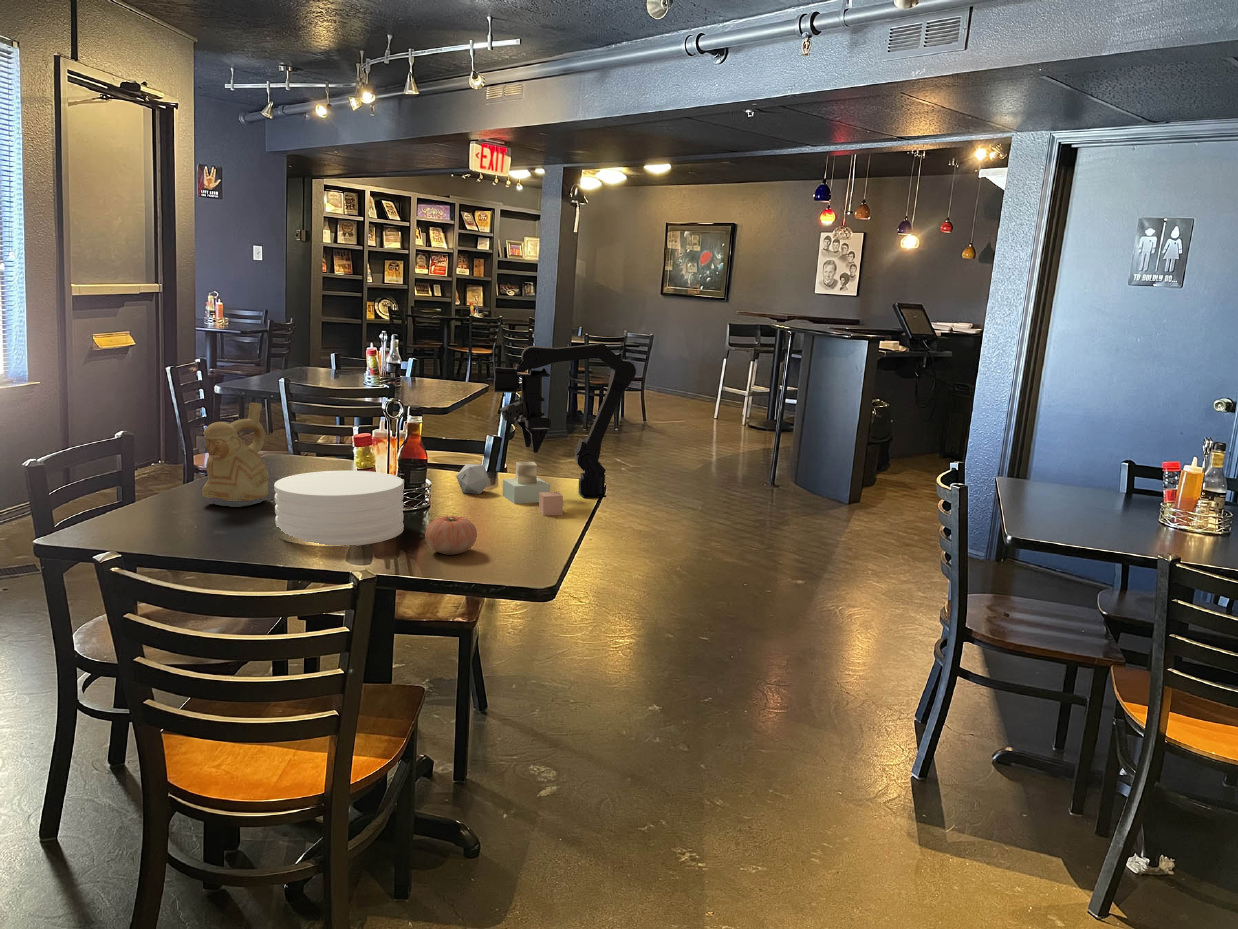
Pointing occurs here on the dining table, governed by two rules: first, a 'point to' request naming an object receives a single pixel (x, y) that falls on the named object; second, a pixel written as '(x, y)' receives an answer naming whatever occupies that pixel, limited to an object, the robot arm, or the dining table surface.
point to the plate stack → (340, 507)
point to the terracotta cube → (550, 503)
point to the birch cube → (526, 472)
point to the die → (473, 478)
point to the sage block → (523, 491)
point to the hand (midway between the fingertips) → (531, 449)
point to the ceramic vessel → (236, 460)
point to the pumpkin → (451, 535)
